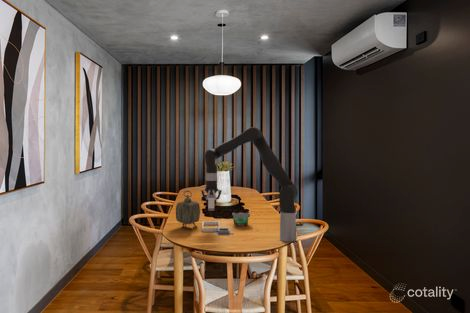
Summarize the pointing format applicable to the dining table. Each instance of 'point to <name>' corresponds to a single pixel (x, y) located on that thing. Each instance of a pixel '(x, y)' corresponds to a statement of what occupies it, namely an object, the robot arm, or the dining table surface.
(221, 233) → the fuse block
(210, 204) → the fuse
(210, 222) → the parts tray
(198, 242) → the dining table surface
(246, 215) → the food container
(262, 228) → the dining table surface
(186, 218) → the tabletop clock
